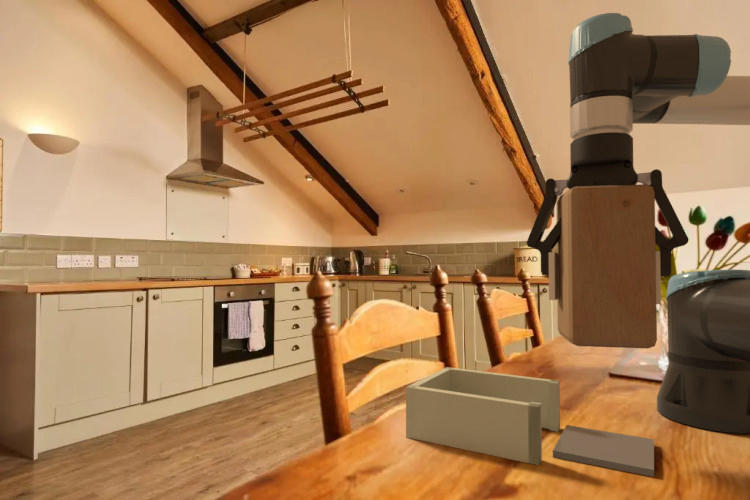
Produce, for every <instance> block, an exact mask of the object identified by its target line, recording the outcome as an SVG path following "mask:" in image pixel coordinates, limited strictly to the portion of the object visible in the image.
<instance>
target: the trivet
mask: <svg viewBox="0 0 750 500" xmlns="http://www.w3.org/2000/svg"><path fill="white" fill-rule="evenodd" d="M552 457H553V458H557V459H562V460H566V461H567V460H568V461H572V462H577V463H581V464H588V465H590V466H591V465H592V466H596V467H602V468H606V469H613V470H617V471H622V472H627V473H632V474H637V475H640V476H641V475H642V476H647V477H651V478H655V439H654V438H648V437H642V436H635V435H629V434H624V433H617V432H611V431H605V430H600V429H593V428H588V427H587V428H586V427H581V426H576V425H569V424H566V425H565V427H564V429H563V430H562V433H561V434H560V436H559V439H558V440H557V442H556V443H555V445H554V447H553V450H552Z"/></svg>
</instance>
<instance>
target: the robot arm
mask: <svg viewBox="0 0 750 500" xmlns="http://www.w3.org/2000/svg"><path fill="white" fill-rule="evenodd" d="M633 33H634V28H633V27H632V22H631V18H630V17H629V16H627V15H623V14H621V13H619V12H607V13H606V12H605V13H600V14H597V15H594V16H590V17H587V18H586V19H584V20H582V21H581V22H580V23H579V24H577V26H576V27H575V28H574V29H573V30H572V33H571V34H570V38H569V39H570V40H569V41H570V42H569V53H568V54H569V55H568V62H567V63H568V66H569V67H568V69H569V71H568V72H569V95H570V98H569V99H570V103H569V104H570V105H569V107H570V108H569V136H570V138H571V139H572V142H570V144H569V145H570V146H569V147H570V148H569V149H570V150H569V151H570V158H569V159H570V172H569V176H568V177H567V179H554V178H547V180H546V181H545V196H544V198H543V200H542V203H541V206H540V208H539V210H538V213H537V216H536V218H535V220H534V223H533V225H532V227H531V231H530V233H529V236H528V238H527V240H526V246H527V247H528V248H531V249H534V250H537V251H539V254H540V273H541V274H542V276H548V300H549V301H556V300H557V299H558V253H557V251H556V252H553V249H554V248H555V247H556V246H557V242H558V240H559V237H560V235H561V218H560V219H559V221H558V222H557V221H556V223H555V225H554V226H553V228H552V229H551V230H550V232H549V233H548V234H547V236H546V237H545V239H544V240H543V241H542V238H543V236H544V233H545V231H546V229H547V226H548V223H549V221H550V218H551V216H552V213H553V211H554V208H555V206H556V203H557V200H558V198H559V197H560V196H561V195H563V194H564V193H563V192H564V190H565V189H568V190H569V189H571V188H574V187H576V186H610V185H638V183H641V185H644V184H646V185H649V186H651V187H653V190H654V192H655V202H656V203H655V204H657V207H658V208H659V210H660V213H661V215H662V217H663V219H664V221H665V224H666V225H667V227H668V229H669V231H670V232H671V235H672V237H671V238H669V239H667V237H665V235H664V234H663V233H662V232H661V231H660V230H659V228H658V227H657V226H656V225H655V246H657V247H658V248H659V249H658V251H657V250H655V251H656V305H662V292H661V291H662V290H661V289H662V288H661V287H662V285H661V284H662V283H661V282H662V281H661V278H663V277H665V278H669V277H670V276H671V274H672V251H674V249H677V248H679V247H683V246H685V245H687V244H688V243H689V236H688V234H687V233H686V231H685V229H684V227H683V225H682V222H681V221H680V219H679V217H678V215H677V213H676V211H675V209H674V207H673V205H672V204H671V201H670V199H669V197H668V195H667V194H666V190H664V189H665V188H664V187H663V174H662V171H661V169H659V168H658V169H657V168H656V169H653V170H652V171H648V172H640V173H637V172H636V170H635V168H634V138H633V136H632V135H630V134H631V132H632V131H633V128H634V127H633V124H639V125H640V124H641V125H643V124H653V125H654V124H657V125H659V124H660V125H661V124H662V125H663V124H664V125H667V124H668V125H672V124H673V125H711V126H712V125H721V126H750V75H728V74H729V72H730V68H731V64H732V60H731V57H732V56H731V53H732V50H731V47H730V45H729V43H728V42H727V41H726V39H724V38H723V37H720V36H714V35H700V34H698V33H694V34H672V35H669V34H668V35H666V34H665V35H664V34H663V35H660V34H659V35H655V34H654V35H644V34H633ZM558 196H559V197H558ZM665 300H666V303H667V305H666V306H667V308H666V309H667V310H666V311H667V344H668V345H667V348H668V350H667V351H668V364H667V368H666V371H665V374H664V376H663V378H662V382H661V384H660V387H659V390H658V393H657V395H656V410H657V412H658V413H659V414H660V415H661V416H664V417H665V418H667V419H669V420H672V421H673V422H674V421H675V422H678V423H680V424H684V425H687V426H691V427H694V428H700V429H705V430H709V431H717V432H722V433H733V434H743V435H745V434H748V435H750V270H749V269H711V270H709V269H708V270H702V271H701V270H699V271H687V272H682V273H677V274H674V275H672V276H671V277H670V278H669V280H668V283H667V290H666V298H665Z"/></svg>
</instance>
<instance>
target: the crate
mask: <svg viewBox="0 0 750 500" xmlns="http://www.w3.org/2000/svg"><path fill="white" fill-rule="evenodd" d="M560 381H561V380H558V379H549V378H540V377H539V378H538V377H531V376H524V375H514V374H507V373H499V372H490V371H483V370H475V369H474V370H473V369H468V368H467V369H464V368H458V367H456V368H455V367H448V366H446V367H443V368H441V369H440V370H438V371H435V372H433V373H432V374H429V375H427V376H426V377H423V378H421V379H419V380H418V381H415V382H413V383H411V384H409V385H407V386H406V387H405V438H409V439H413V440H417V441H423V442H428V443H431V444H438V445H441V446H447V447H452V448H456V449H460V450H461V449H462V450H464V451H465V450H466V451H470V452H475V453H479V454H484V455H489V456H492V457H493V456H494V457H498V458H502V459H507V460H513V461H517V462H521V463H522V462H523V463H525V464H526V463H527V464H531V465H535V464H536V465H537V466H540V464H541V462H542V461H543V444H542V443H543V440H542V439H543V437H542V436H543V434H542V433H543V432H542V429H546V430H548V431H551V432H555V433H558V432H559V431H560V429H561V399H560V398H561V397H560V396H561V395H560V391H561V388H560V383H561V382H560Z"/></svg>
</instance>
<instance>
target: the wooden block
mask: <svg viewBox="0 0 750 500" xmlns="http://www.w3.org/2000/svg"><path fill="white" fill-rule="evenodd" d="M655 202H656V201H655V192H654V190H653V187H651V186H649V185H646V184H644V185H643V184H636V185H610V186H576V187H574V188H571V189H569V188H568V189H567V191H566V192H564V193H562V194H561V195H559V197H557V201H556V204H555V206H556V223H557V222H558V221H559V219H560V218H561V235H560V237H559V240H558V242H557V244H556V253H558V299H557V303H556V309H557V330H558V333H559V335H561V336H562V337H563V338H564V339H565V340H567V341H568V342H569V343H570V344H572V345H574V346H577V347H594V348H595V347H596V348H621V349H623V348H625V349H626V348H627V349H650V348H654V347H655V346H656V345H657V341H658V332H657V330H658V328H657V327H658V325H657V323H658V322H657V320H658V319H657V304H656V251H657V250H656V243H655V226H656V207H655V205H656V203H655Z"/></svg>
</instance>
